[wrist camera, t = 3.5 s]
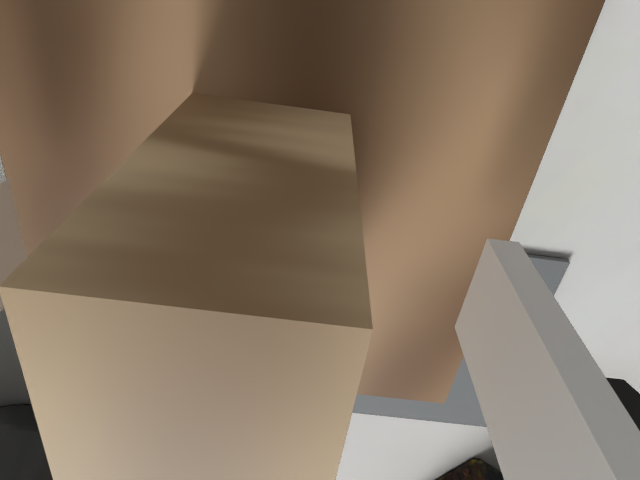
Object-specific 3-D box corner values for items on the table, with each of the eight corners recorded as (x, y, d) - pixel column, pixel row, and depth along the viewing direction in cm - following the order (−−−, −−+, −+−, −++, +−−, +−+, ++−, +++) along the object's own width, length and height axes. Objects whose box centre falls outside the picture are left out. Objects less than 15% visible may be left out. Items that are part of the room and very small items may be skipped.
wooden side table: (163, 196, 28) (-144, 639, 10) (148, -97, 21) (-1164, -444, 3) (401, 226, 29) (515, 692, 11) (470, -48, 21) (1242, -46, 3)
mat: (289, 401, 37) (289, 405, 37) (314, 227, 29) (314, 230, 29) (487, 422, 38) (489, 427, 38) (567, 259, 30) (569, 262, 29)
